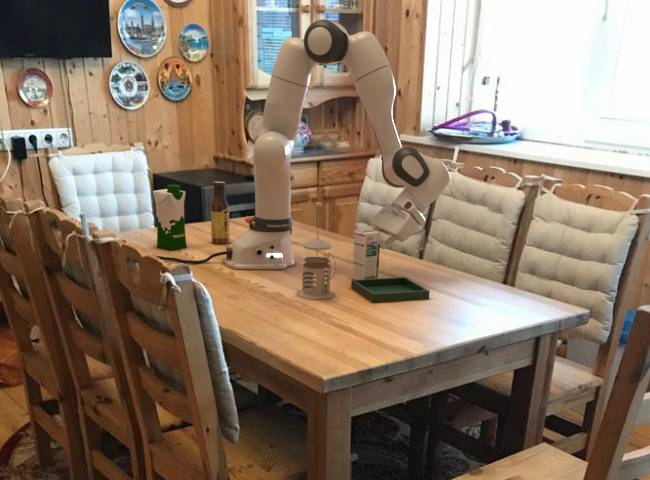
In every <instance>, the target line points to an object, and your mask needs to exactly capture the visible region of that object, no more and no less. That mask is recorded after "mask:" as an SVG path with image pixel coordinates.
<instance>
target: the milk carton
mask: <svg viewBox="0 0 650 480" xmlns="http://www.w3.org/2000/svg"><path fill="white" fill-rule="evenodd" d="M180 187H181V186H180V184H175V183H173V184H172V183H171V184H167V185H166V188H164V189H157V190H152V194H153V196H152V197H153V199H154V203H155V215H156V230H157V231H156V233H157V234H156V248H159V249H164V250H168V251H175V250H180V249H186V248H187V247H188V246H187V237H186V225H185V224H186V223H185V222H186V221H185V199H186V194H187V193H186V191H184V190H181V188H180Z"/></svg>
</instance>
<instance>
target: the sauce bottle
mask: <svg viewBox="0 0 650 480" xmlns="http://www.w3.org/2000/svg"><path fill="white" fill-rule="evenodd" d="M212 183H213V184H212V185H213V198H212V199H211V202H210V229H211V233H210V234H211V242H212V243H213V244H217V245H225V244H228V243H230V237H231V236H230V235H231V234H230V205H229V202H228V200H227V196H226V181H220V180H219V181H218V180H217V181H213V182H212Z"/></svg>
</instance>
